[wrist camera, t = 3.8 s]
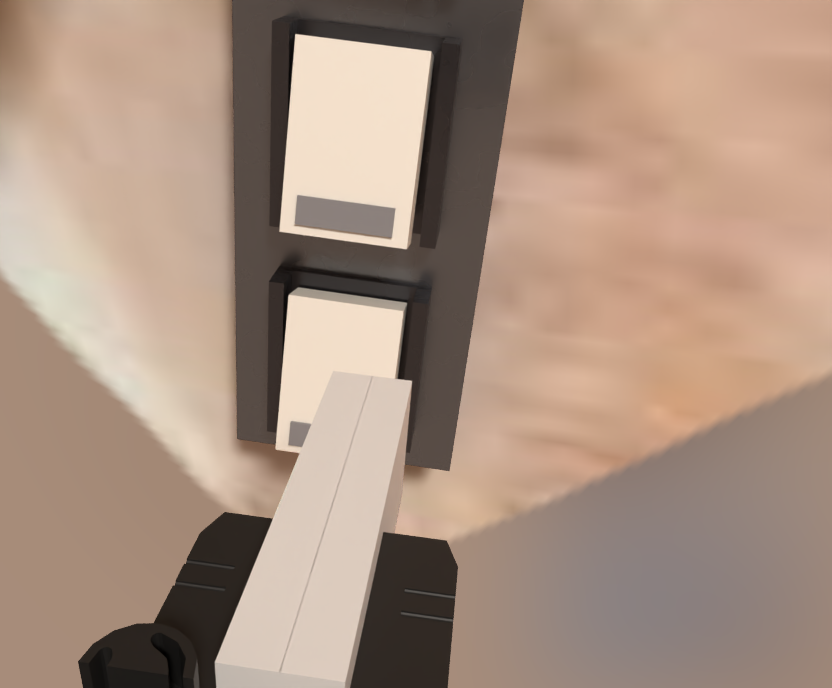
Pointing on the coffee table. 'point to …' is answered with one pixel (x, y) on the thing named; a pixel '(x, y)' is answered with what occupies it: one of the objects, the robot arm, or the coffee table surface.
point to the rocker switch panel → (434, 212)
